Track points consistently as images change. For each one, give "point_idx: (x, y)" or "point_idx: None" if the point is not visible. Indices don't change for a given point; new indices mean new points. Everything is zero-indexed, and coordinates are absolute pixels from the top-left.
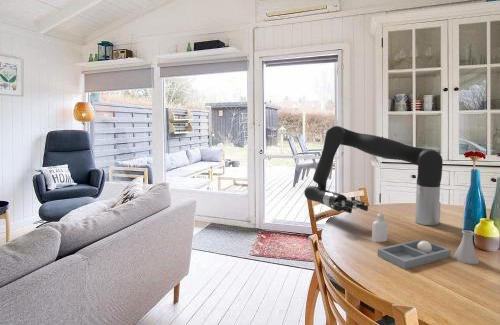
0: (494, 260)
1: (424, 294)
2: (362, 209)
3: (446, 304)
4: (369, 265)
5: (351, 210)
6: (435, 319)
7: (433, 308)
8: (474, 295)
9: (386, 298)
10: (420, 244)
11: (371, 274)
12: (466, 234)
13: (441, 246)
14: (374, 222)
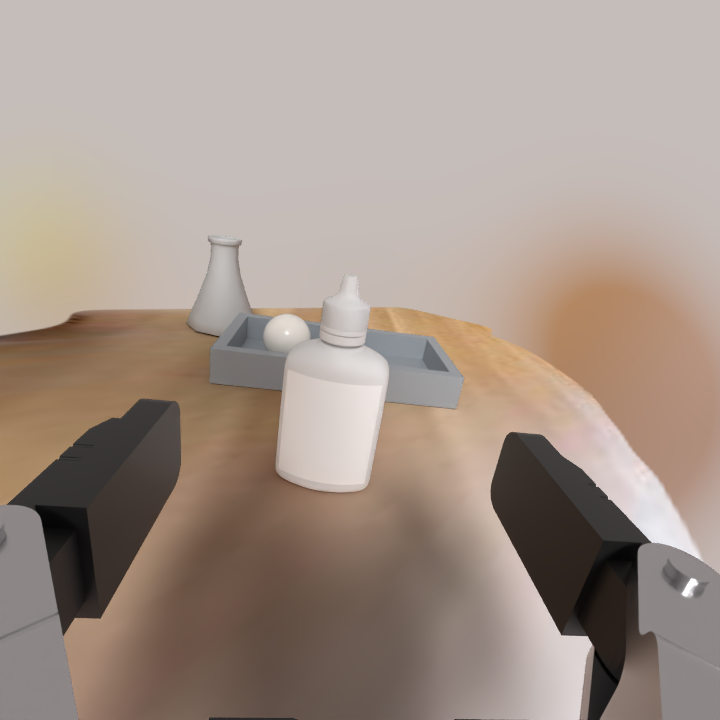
0: (156, 309)
1: (452, 336)
2: (134, 550)
3: (437, 324)
4: (512, 399)
5: (505, 458)
6: (480, 325)
7: (465, 328)
8: (370, 315)
9: (530, 352)
10: (307, 327)
11: (527, 382)
12: (240, 244)
13: (234, 321)
14: (384, 361)
